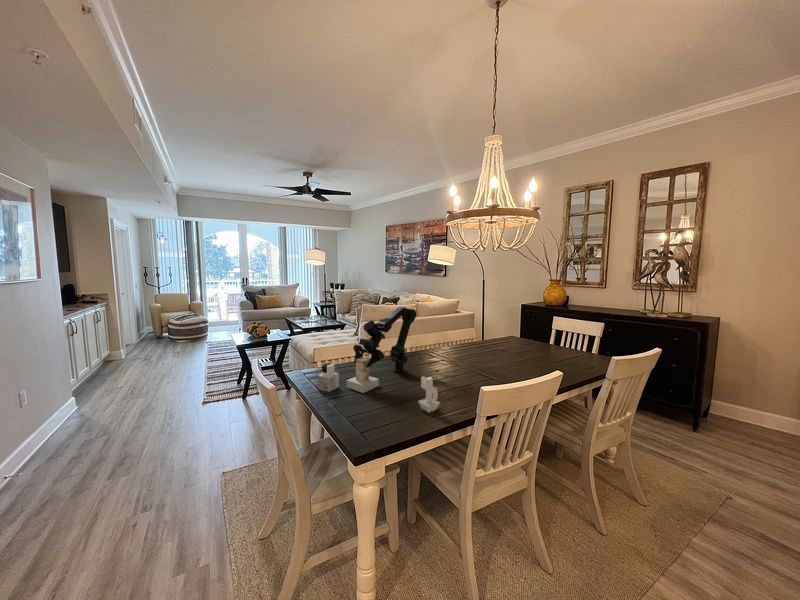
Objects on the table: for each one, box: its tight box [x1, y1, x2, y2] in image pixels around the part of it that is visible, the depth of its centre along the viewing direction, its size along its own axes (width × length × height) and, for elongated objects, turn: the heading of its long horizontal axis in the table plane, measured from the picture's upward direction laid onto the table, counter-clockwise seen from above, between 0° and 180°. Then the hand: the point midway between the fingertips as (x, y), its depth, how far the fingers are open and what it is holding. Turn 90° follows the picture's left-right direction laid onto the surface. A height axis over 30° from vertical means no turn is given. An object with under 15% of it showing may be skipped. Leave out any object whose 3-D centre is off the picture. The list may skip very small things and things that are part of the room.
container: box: [317, 362, 340, 393], centre depth 175 cm, size 8×8×13 cm
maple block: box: [355, 357, 370, 382], centre depth 176 cm, size 5×5×11 cm
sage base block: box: [346, 375, 380, 394], centre depth 177 cm, size 12×12×4 cm
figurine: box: [417, 376, 441, 414], centre depth 150 cm, size 7×9×15 cm
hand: (360, 365), depth 175 cm, fingers open, 9 cm apart
